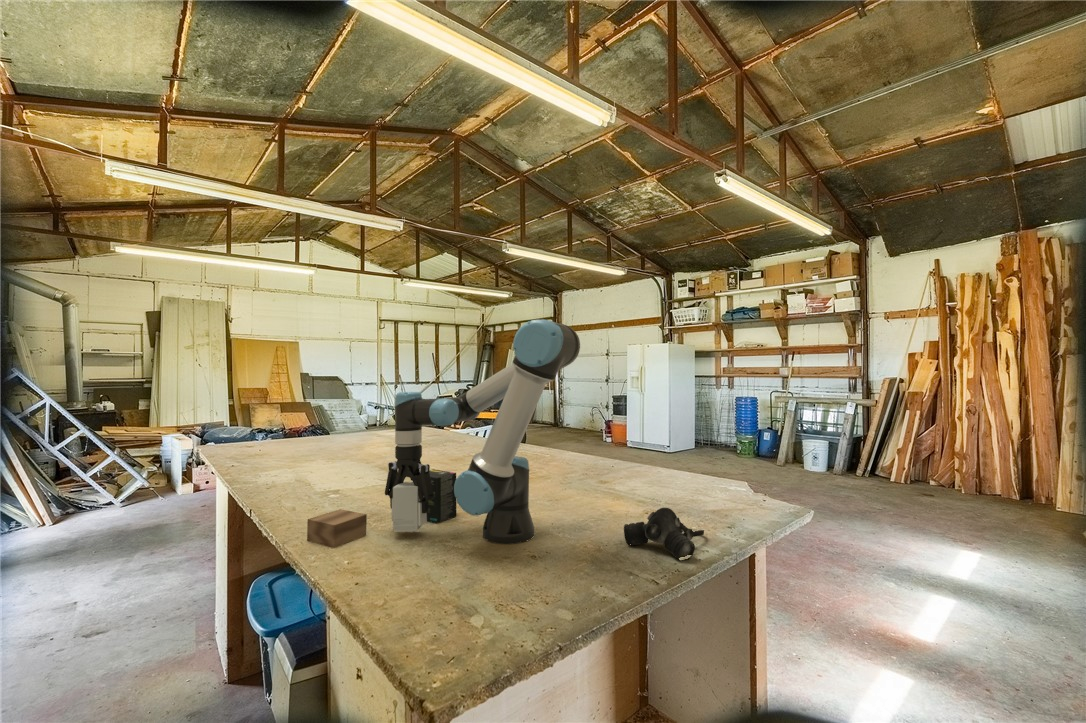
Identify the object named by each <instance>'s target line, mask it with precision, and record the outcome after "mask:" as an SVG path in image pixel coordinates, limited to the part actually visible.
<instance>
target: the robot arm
mask: <svg viewBox="0 0 1086 723" xmlns="http://www.w3.org/2000/svg"><path fill="white" fill-rule="evenodd" d="M512 344H513V345H512V346H513V347H512V348H513V350H514V355H515V356H513V360H512V363H511V364H509V365H507V366H506V367H504V368H502V369H500V370H499V371H497V372H496V373H494V374H493V375H491V376H490V377H488V378H487V379H485V380H483V381H482V382H480V383H478V384H477V385H475V386H474V387H472V388H471V389H468V390H467V391H465V392H464V393H463V394H461V395H459V396H454V397H453V396H452V397H442V398H440V397H439V398H423V397H422V392H420V391H401V392H397V393H396V394H395V400H394V412H395V413H394V418H395V419H394V422H395V429H394V431H395V433H394V434H395V435H394V443H395V445H396V446H395V447H394V449H395V450H394V452H395V453H394V454H395V455H394V457H395V459H396V461H391V462H388V464H387V465H388V473H387V478H386V483H385V488H384V489H385V490H384V495H385V496H388V497H389V500H390V503H389V504H390V505H389V506H390V509H391V522H393V487H395V486H396V485H398V484H400V483H403V482H405V479H406V478H410V480H411V482H413V483H414V486H417V487H418V496H419V498H420V501H419V502H418V525H419V526H421V525H422V526H423V525H425V524H427V523H428V522H427V512H428V501H429V500H431V499H433V498H434V493H433V488H432V483H431V478H430V473H429V470H431V469H430V467H431V465H430V464H429V463H428V464H423V463H422V461H421V458H422V456H423V445H422V444H421V443H422V442H423V441H422V439H423V438H422V437H423V433H422V431H423V430H422V429H423V428H422V426H423V425H426V426H438V427H443V426H452V425H454V423H459V422H469V421H472V420H475V419H476V418H478V417H479V415H480V413H481V412H483V411H485V410H487V409H488V408H489V407H492V406H493V405H495V404H497V403H498V402H500V401H502V402H501V404H500V407H499V409H498V412H497V414H496V416H495V418H494V421H493V423H492V426H491V429H490V431H489V433H488V436H487V438H486V440H485V443H484V445H483V448H482V449H481V451H480V452H478V453H475V454H474V455H473V456H472V458H471V461H470V464H469V466H468V469H467V470H464V471H462V472H461V473H460V474H459V475H458V476H456V481H455V484H454V494H455V497H456V504H458V505H459V507H460V509H462V510H463V511H464V512H465V513H466V514H468V515H471V516H481V515H485V516H486V517H485V520H484V522H483V526H482V538H483V540H486V541H487V542H490V543H494V544H501V545H507V544H508V545H513V544H521V543H525V542H527V540H528V541H530V540H532V539H533V538H534V537H535V526H534V522H533V518H532V516H531V512H530V509H529V508H530V507H529V506H530V505H529V499H530V498H529V497H530V494H529V493H530V487H529V486H530V466H529V465H530V464H529V459H528V458H527V457H525V456H524V457H523V456H518V455H517V452H518V450H519V448H520V445H521V443H522V440H523V439H524V436H525V434H526V432H527V429H528V426H529V424H530V422H531V420H532V418H533V416H534V415H533V414H534V413H535V410H536V409H537V406H538V404H539V401H540V399H541V396H542V394H543V392H544V390H545V387H546V386H547V384H548V383H551V382H554V381H555V379H556V376H557V375H558V372H559V371H560V370H562V369H564V368H565V367H568V366H570V365H571V364H572V363H573V362H575V361H576V360H577V357H579V353H580V352H581V351H580V349H581V341H580V338H579V335H578V333H577V332H576V331H575V330H574V329H573V328H572V327H571V326H569V325H567V324H563V323H558V322H555V321H552V320H548V319H532V320H529V321H527V322H525V323H524V324H522V325H521V326H520V327H519V329H518V330H517V331H516V333H515V335H514V338H513V342H512ZM416 475H417V476H416ZM422 526H421V527H422ZM533 536H534V537H533ZM532 537H533V538H532ZM531 538H532V539H531Z"/></svg>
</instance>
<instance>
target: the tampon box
mask: <svg viewBox="0 0 1086 723" xmlns="http://www.w3.org/2000/svg"><path fill="white" fill-rule="evenodd" d="M429 473H430V478H431V483H432V488H433V493H434V498H433V499H431V500H429V501H428V512H427V523H432V524H439V523H441V522H445V521H448V520H450V519H453V518H456V517H457V516H458V514H457V499H456V497H455V494H454V484H455V481H456V479H457V472H453V471H447V470H440V469H430V470H429ZM416 476H417V475H416Z"/></svg>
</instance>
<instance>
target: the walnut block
mask: <svg viewBox="0 0 1086 723" xmlns="http://www.w3.org/2000/svg"><path fill="white" fill-rule="evenodd" d="M367 519H368V518H367V514H366V513H361V512H356V511H351V510H346V509H342V508H341V509H337V510H334V511H330V512H326V513H324V514H320V515H317V516H314V517H310V518H307V528H306V531H307V533H306V541H307V542H310V543H315V544H318V545H322V546H326V547H330V548H336V547H339V546H342V545H344V544H347V543H350V542H353V541H355V540H358V539H360V538H362V537H365V536H367V525H368V524H367Z"/></svg>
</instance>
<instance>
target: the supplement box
mask: <svg viewBox="0 0 1086 723" xmlns="http://www.w3.org/2000/svg"><path fill="white" fill-rule="evenodd" d="M419 501H420V498H419V496H418V487H417V486H414V483H413V481H404V482H403V483H400V484H398V485H396V486H395V487H393V521H392V532H397V533H398V532H418V531H419V530H420V529H421V527H422V526H423V525H421V526H419V525H418V502H419Z"/></svg>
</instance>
